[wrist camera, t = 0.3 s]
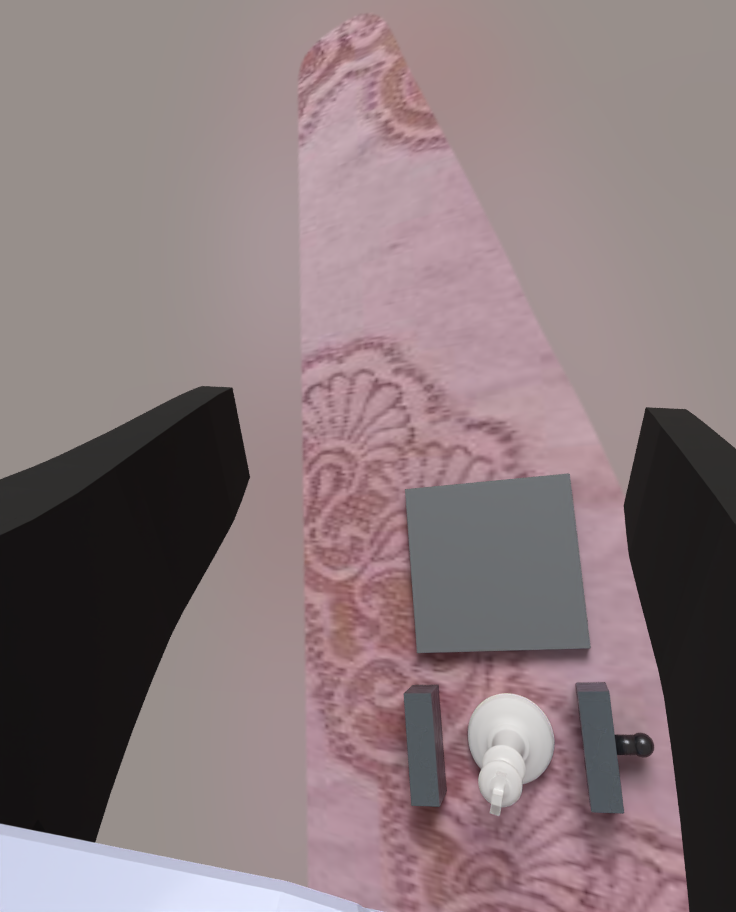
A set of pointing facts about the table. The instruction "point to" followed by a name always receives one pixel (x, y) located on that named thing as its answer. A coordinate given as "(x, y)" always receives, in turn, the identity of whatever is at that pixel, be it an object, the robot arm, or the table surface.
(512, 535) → the mat
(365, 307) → the table surface
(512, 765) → the chess piece
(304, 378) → the table surface
